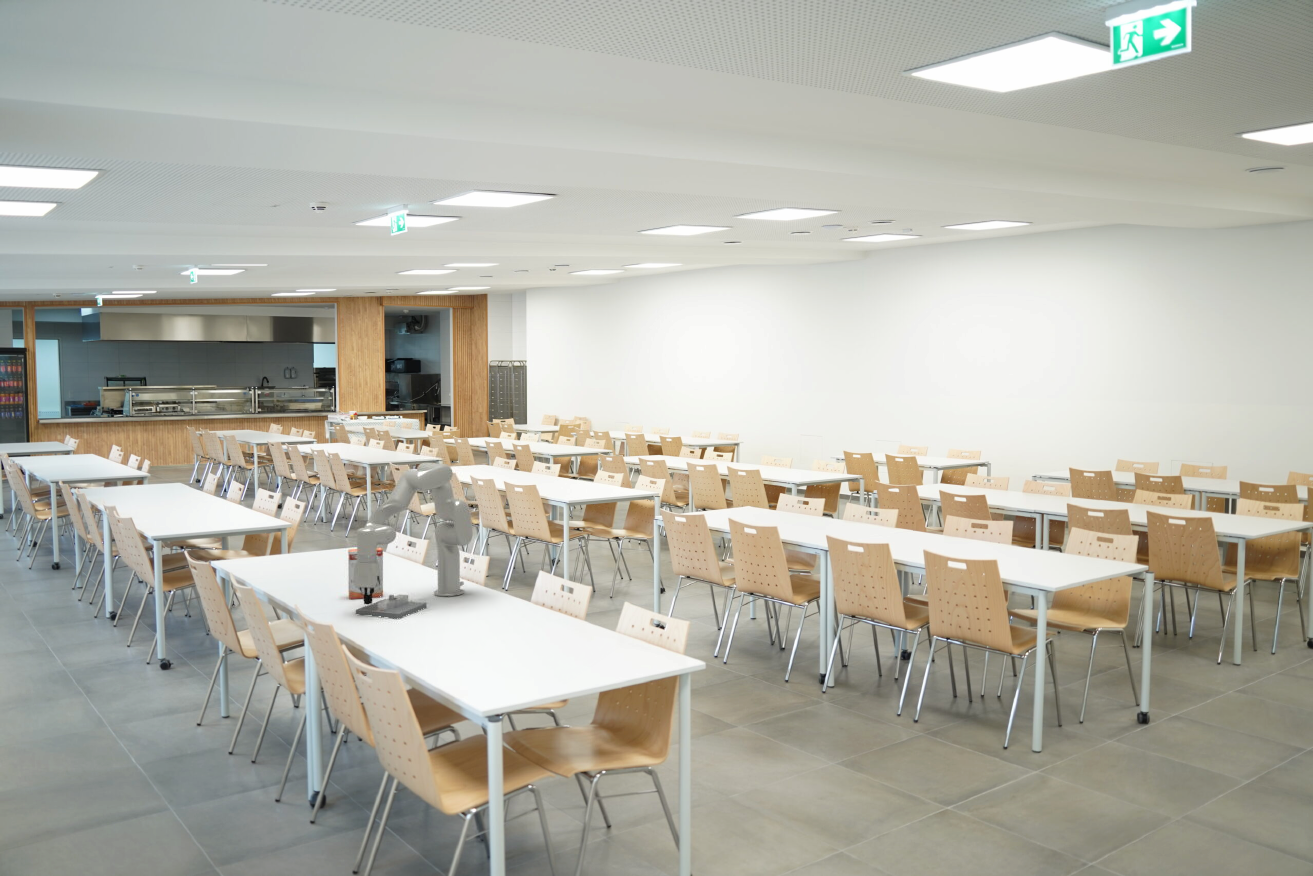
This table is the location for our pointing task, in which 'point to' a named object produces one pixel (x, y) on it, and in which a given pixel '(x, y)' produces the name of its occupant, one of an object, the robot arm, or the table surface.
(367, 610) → the cover plate
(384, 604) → the grey long block
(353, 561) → the cracker box
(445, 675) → the table surface
